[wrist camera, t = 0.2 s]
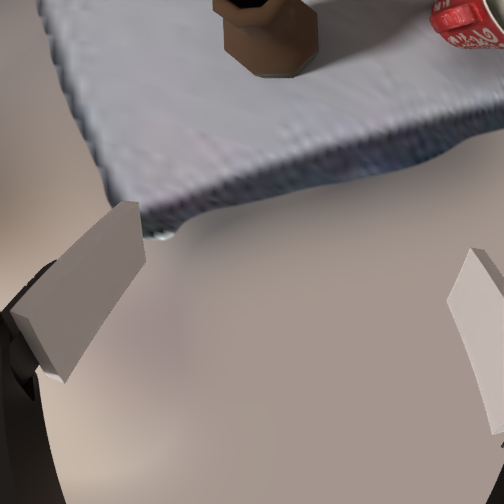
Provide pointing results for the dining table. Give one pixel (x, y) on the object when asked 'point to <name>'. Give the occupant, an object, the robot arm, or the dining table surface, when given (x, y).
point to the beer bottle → (269, 35)
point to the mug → (470, 22)
